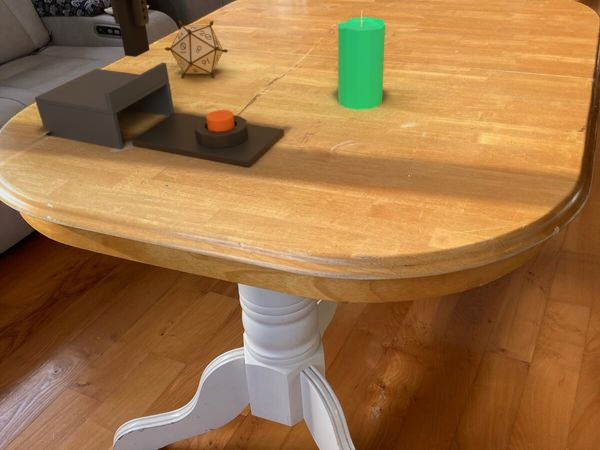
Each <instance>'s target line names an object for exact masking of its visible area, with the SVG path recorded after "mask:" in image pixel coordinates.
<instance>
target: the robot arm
mask: <svg viewBox="0 0 600 450" xmlns="http://www.w3.org/2000/svg"><path fill="white" fill-rule="evenodd" d="M147 3H148V2H147V0H110V6H111V10H112V11H111V12H112V15H113V20H114V23H115V24H116V25H119V31H120V37H121V41H122V47H123V51H124V56H126V57H133V58H137V57H138V56H141V55H143V54H144V53H145V54H146V53H147V52H149V51H150V50H151V49H150V44H149V38H148V31H147V25H148V24H149V22H150V16H149V11H148V4H147Z"/></svg>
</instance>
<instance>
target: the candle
mask: <svg viewBox="0 0 600 450" xmlns="http://www.w3.org/2000/svg"><path fill="white" fill-rule="evenodd" d="M385 39H386V23H385V20H384V18H378V17H372V16H371V17H370V16H363V10H360V16H357V17H352V18H349V19H347V20H346V21H345V20H344V21H343V22H338V23H337V66H338V67H337V101H338V104H339V106H342V107H344V108H346V109H351V110H370V109H373V108H376V107H379V106H380V105H381V104H382V103H383V90H384V89H383V87H384V65H385V63H384V62H385V41H386V40H385Z"/></svg>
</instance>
